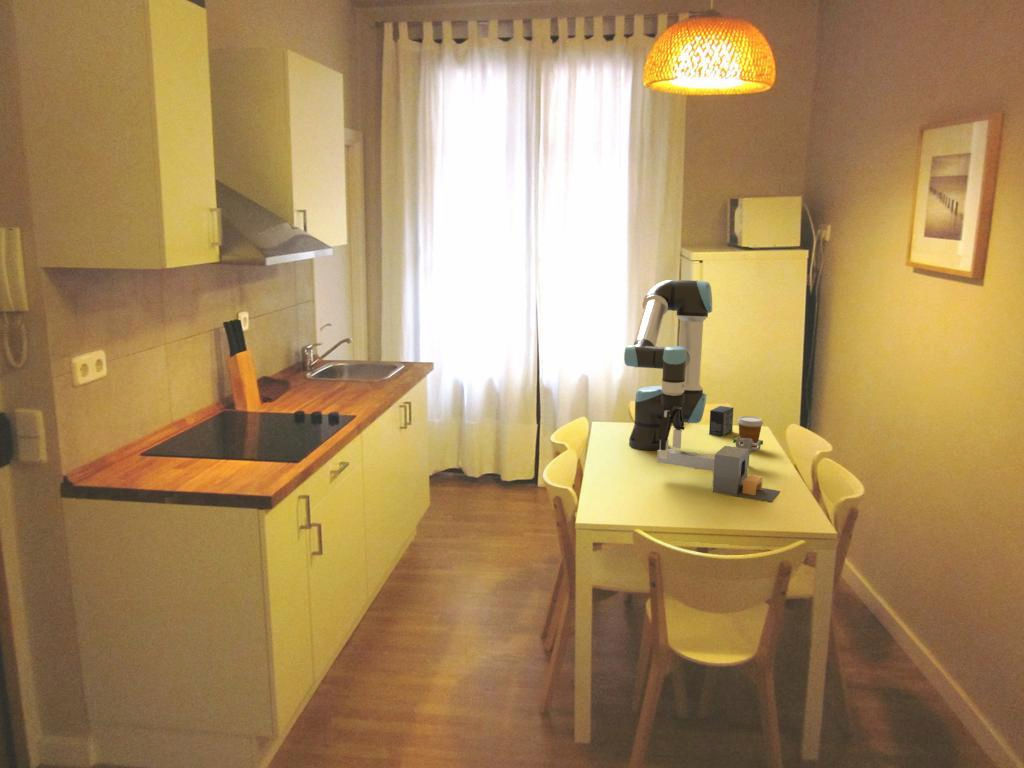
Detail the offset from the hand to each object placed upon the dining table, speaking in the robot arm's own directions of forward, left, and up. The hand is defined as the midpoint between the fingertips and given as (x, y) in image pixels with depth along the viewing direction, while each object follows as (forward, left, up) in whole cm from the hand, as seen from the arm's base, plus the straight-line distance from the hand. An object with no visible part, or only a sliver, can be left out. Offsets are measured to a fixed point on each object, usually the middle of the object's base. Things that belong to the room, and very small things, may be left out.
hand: (670, 453), depth 290 cm
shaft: (+9, -1, -3) cm, 10 cm away
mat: (+30, -1, -9) cm, 31 cm away
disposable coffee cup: (+14, +52, -9) cm, 55 cm away
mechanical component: (+19, +29, -9) cm, 36 cm away
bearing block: (+21, -1, -9) cm, 23 cm away
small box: (-2, +70, -9) cm, 71 cm away
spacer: (+28, 0, -9) cm, 30 cm away
